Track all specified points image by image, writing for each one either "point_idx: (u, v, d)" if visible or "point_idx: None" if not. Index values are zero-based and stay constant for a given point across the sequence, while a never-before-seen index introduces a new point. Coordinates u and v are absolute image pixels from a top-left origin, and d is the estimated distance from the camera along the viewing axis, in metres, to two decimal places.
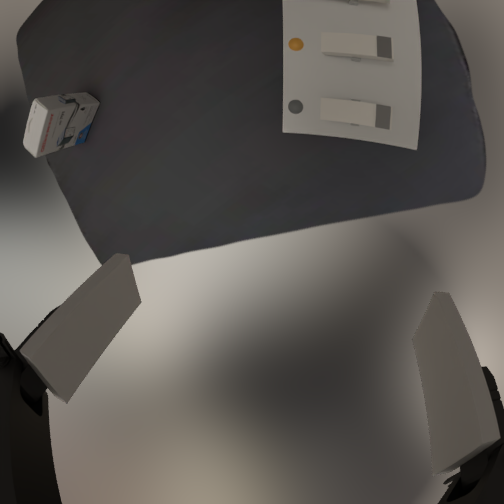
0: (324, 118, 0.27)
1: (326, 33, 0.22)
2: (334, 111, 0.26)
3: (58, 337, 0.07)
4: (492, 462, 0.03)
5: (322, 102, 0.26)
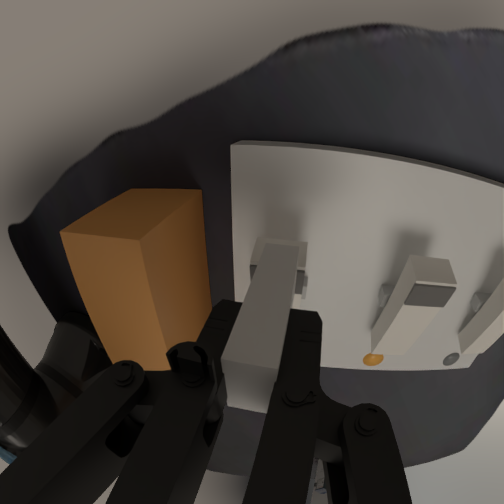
0: (484, 350, 0.15)
1: (376, 350, 0.17)
2: (484, 343, 0.14)
3: None
4: (268, 410, 0.06)
5: (467, 352, 0.15)
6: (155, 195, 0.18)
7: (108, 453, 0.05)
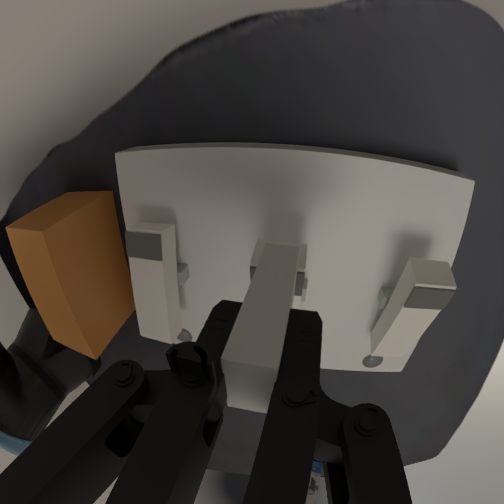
0: (403, 353, 0.16)
1: None
2: (398, 346, 0.16)
3: None
4: (267, 410, 0.06)
5: (378, 354, 0.17)
6: (77, 197, 0.19)
7: (108, 453, 0.05)
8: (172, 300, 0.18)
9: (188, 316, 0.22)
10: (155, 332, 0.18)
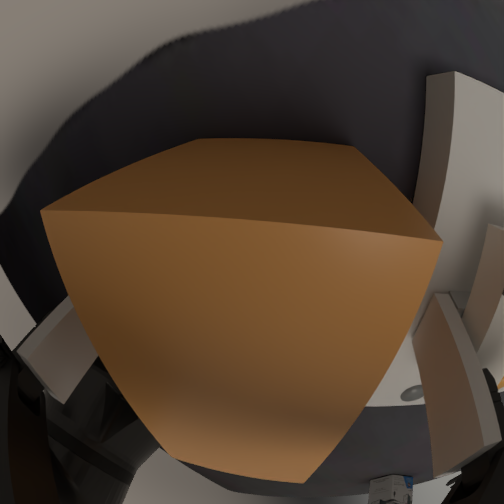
0: None
1: None
2: None
3: (55, 338, 0.07)
4: (494, 464, 0.03)
5: None
6: (274, 144, 0.09)
7: None
8: None
9: None
10: None
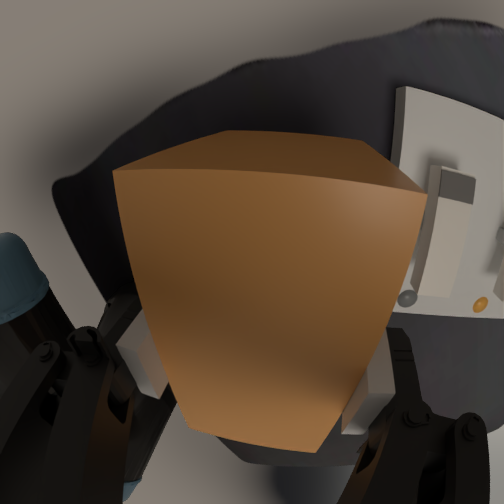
0: None
1: None
2: None
3: None
4: (387, 428, 0.05)
5: None
6: (296, 136, 0.10)
7: (44, 424, 0.05)
8: None
9: None
10: (437, 286, 0.14)
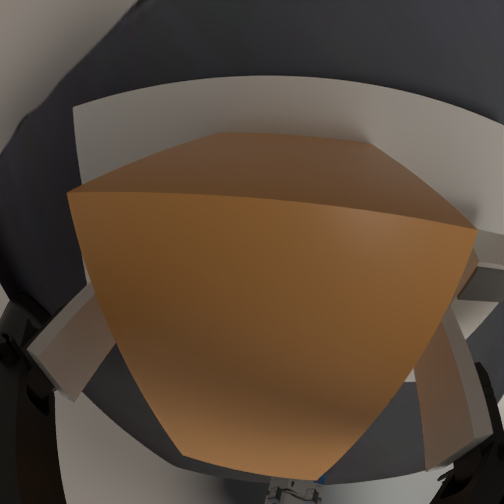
0: None
1: None
2: None
3: (66, 335, 0.07)
4: (485, 458, 0.03)
5: None
6: (297, 139, 0.09)
7: None
8: None
9: None
10: None
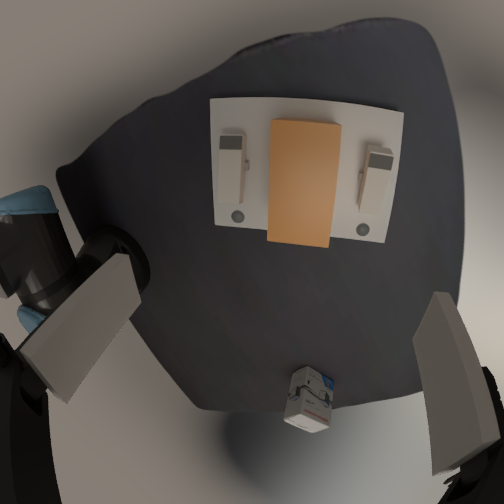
0: (378, 212, 0.29)
1: None
2: (373, 203, 0.29)
3: (58, 337, 0.07)
4: (492, 462, 0.03)
5: (363, 212, 0.30)
6: None
7: None
8: (242, 176, 0.31)
9: (244, 199, 0.35)
10: (229, 197, 0.31)
